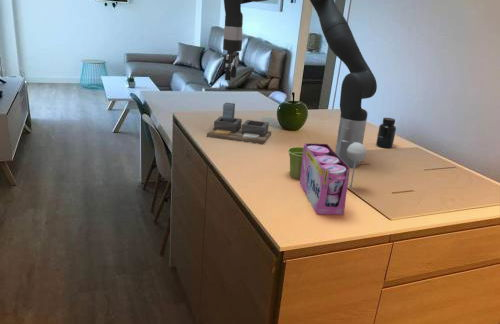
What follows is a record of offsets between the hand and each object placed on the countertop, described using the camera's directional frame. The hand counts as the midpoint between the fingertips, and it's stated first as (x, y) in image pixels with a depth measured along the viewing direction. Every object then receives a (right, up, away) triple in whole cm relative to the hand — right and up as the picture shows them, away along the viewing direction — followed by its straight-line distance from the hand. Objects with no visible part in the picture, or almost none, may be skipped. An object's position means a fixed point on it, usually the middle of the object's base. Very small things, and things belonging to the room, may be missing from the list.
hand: (230, 78), depth 185 cm
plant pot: (+25, -39, -35) cm, 58 cm away
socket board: (+4, -23, +5) cm, 24 cm away
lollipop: (+40, -43, -42) cm, 72 cm away
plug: (-1, -20, +7) cm, 22 cm away
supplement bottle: (+65, -28, +5) cm, 71 cm away
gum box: (+29, -45, -51) cm, 74 cm away
